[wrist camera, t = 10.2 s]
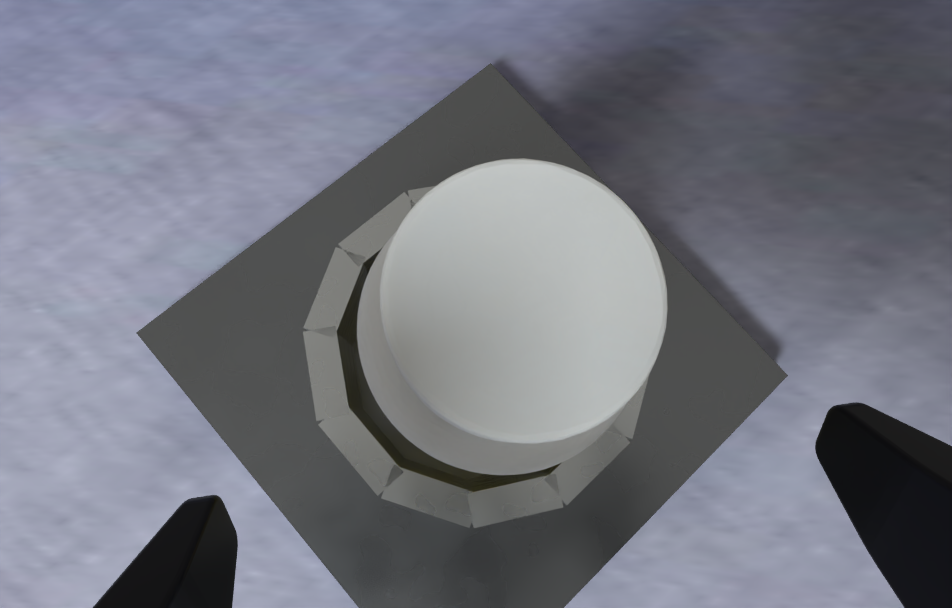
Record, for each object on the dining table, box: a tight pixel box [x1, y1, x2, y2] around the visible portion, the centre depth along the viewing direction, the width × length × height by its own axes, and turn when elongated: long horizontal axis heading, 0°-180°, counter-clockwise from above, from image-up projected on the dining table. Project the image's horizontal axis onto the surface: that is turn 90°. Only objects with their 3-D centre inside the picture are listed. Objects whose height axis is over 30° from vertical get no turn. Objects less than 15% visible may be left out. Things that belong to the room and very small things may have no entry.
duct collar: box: [137, 63, 788, 608], centre depth 16 cm, size 14×14×4 cm
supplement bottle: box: [357, 158, 668, 475], centre depth 12 cm, size 5×5×10 cm
